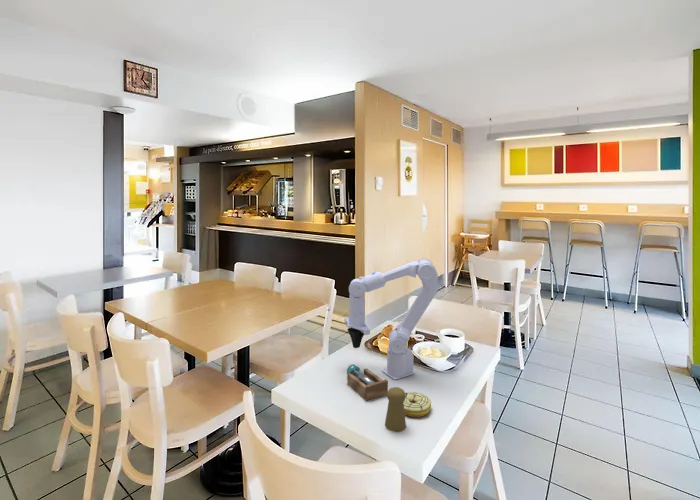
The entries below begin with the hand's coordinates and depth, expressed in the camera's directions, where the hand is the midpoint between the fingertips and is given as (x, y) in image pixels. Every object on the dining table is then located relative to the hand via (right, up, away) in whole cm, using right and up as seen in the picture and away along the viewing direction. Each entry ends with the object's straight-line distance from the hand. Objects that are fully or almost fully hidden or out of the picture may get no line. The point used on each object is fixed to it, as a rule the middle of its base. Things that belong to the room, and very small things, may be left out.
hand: (356, 347), depth 140 cm
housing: (+3, -11, -12) cm, 17 cm away
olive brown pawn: (+11, -15, -31) cm, 36 cm away
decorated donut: (+17, -14, -23) cm, 32 cm away
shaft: (+2, -10, -10) cm, 14 cm away
